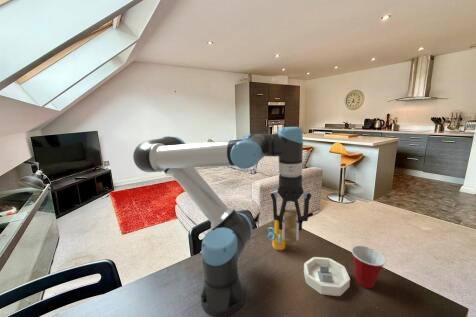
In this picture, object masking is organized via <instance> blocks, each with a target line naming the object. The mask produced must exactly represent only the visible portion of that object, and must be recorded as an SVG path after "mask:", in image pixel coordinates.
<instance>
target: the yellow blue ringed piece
mask: <svg viewBox="0 0 476 317" xmlns="http://www.w3.org/2000/svg"><path fill="white" fill-rule="evenodd" d="M283 219H284V217H283ZM270 230H272V231H270ZM267 233H268V235H267V240H268V241H271V242H272V243H271V244H272V248H273V249H274V250H276V251H283V250H285V248H286V244H285V243H284V240H282V230H280V229H279V221H278V220H274V227H272V226H270V227H268V228H267ZM270 236H272V238H270Z"/></svg>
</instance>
